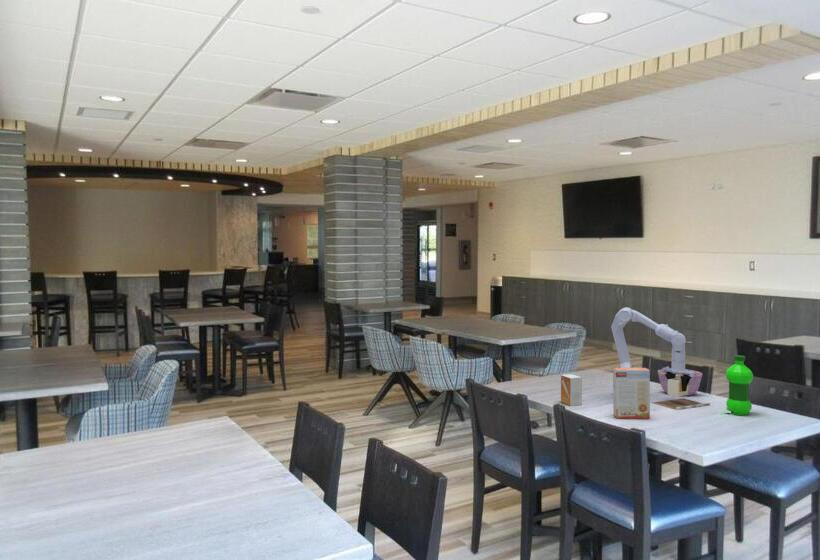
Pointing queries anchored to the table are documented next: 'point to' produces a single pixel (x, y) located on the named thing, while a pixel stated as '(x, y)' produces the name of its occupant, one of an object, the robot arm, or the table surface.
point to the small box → (571, 389)
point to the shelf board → (681, 404)
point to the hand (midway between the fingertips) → (678, 390)
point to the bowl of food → (692, 384)
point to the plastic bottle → (739, 387)
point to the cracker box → (631, 393)
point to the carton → (676, 387)
